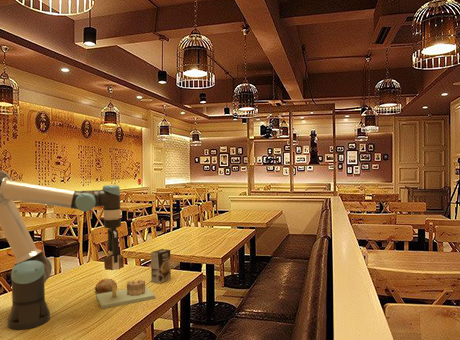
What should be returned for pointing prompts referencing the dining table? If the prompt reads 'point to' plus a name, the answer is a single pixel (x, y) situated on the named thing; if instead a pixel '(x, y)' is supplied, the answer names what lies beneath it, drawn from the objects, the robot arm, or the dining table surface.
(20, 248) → the robot arm
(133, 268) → the dining table surface
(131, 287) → the beech gear
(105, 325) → the dining table surface
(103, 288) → the bread roll
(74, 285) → the dining table surface
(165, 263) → the coffee box
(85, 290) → the dining table surface
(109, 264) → the walnut gear
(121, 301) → the gear board
